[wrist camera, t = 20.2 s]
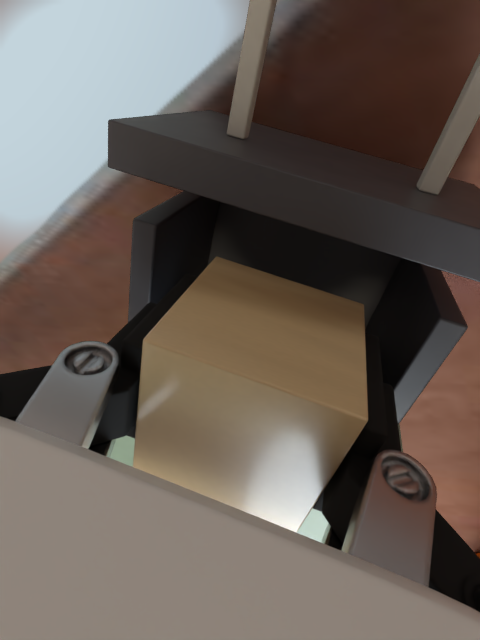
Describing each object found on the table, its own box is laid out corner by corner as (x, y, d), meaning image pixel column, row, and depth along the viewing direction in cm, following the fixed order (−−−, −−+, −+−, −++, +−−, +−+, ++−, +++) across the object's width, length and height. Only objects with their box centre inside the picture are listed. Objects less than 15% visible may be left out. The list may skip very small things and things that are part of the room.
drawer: (237, -85, 12) (110, -277, 6) (584, -9, 11) (886, -147, 5) (172, 357, 24) (105, 453, 17) (341, 418, 23) (334, 545, 16)
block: (216, 255, 11) (141, 338, 7) (364, 303, 10) (369, 420, 7) (194, 366, 14) (131, 471, 10) (313, 409, 13) (295, 536, 9)
